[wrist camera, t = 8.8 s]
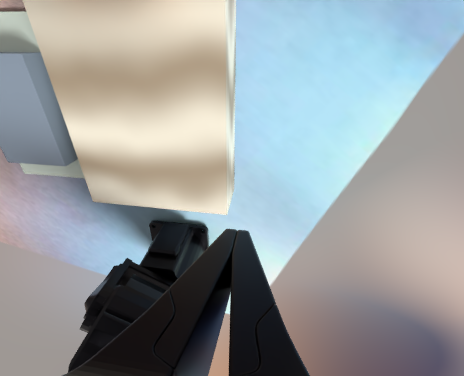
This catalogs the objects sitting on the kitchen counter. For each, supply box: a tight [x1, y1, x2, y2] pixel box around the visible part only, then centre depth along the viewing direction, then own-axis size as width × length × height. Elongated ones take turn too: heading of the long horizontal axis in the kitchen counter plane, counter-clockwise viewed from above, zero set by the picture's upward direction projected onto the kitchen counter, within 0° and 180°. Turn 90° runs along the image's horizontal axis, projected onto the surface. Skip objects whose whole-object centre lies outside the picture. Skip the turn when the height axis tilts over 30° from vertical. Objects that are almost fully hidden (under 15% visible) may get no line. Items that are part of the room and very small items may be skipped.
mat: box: [0, 12, 85, 179], centre depth 22 cm, size 14×10×1 cm
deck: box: [23, 0, 236, 215], centre depth 18 cm, size 20×12×4 cm, turn 0°
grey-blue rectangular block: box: [0, 52, 78, 166], centre depth 21 cm, size 9×6×2 cm, turn 0°
